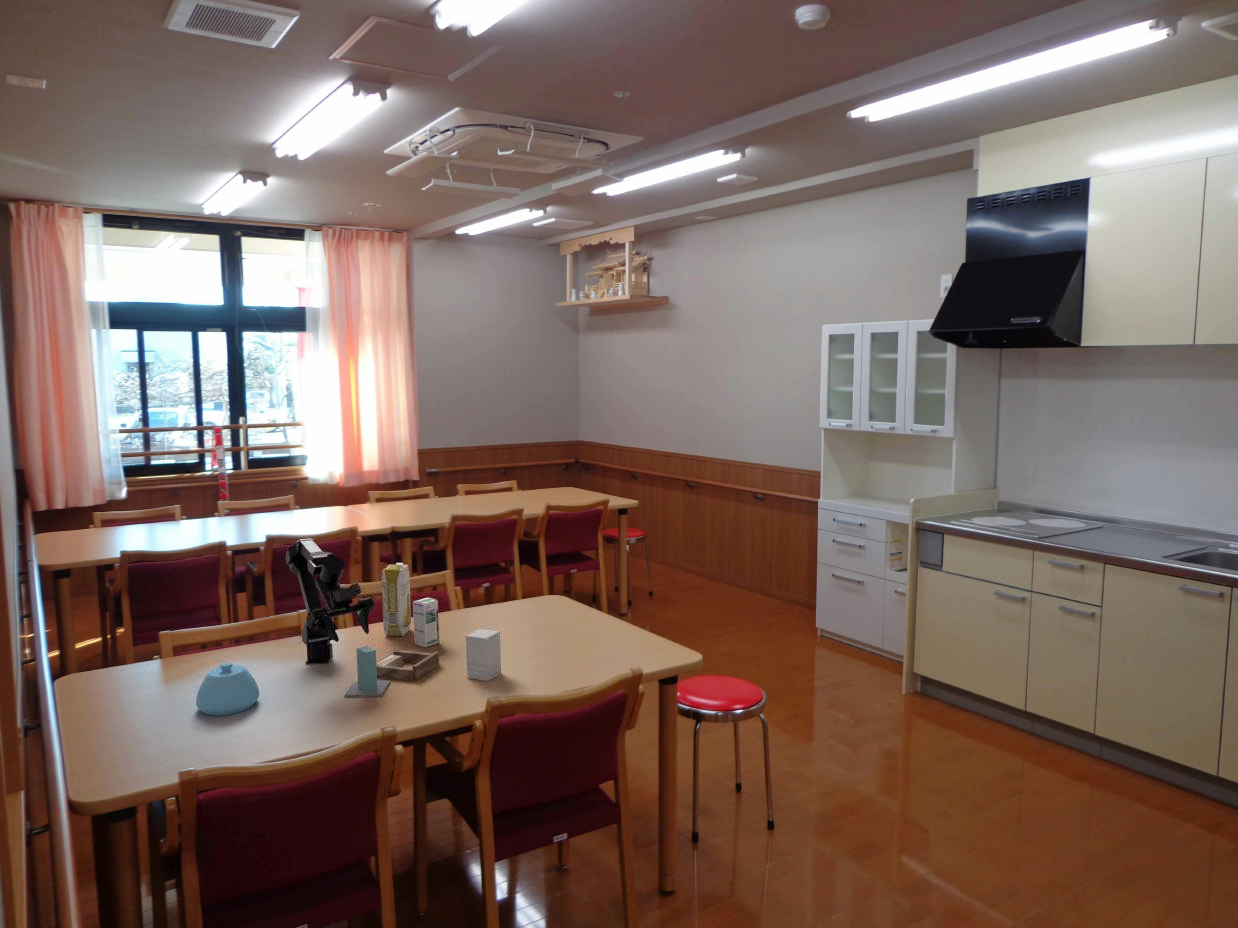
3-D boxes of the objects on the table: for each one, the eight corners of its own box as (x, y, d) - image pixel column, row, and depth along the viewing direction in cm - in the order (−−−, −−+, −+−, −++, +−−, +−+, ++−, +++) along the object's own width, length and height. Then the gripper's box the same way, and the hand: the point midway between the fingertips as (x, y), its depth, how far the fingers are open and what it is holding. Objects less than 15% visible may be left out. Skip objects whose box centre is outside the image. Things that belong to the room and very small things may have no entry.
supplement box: (502, 673, 240) (501, 631, 238) (487, 681, 233) (486, 638, 232) (480, 669, 243) (479, 627, 241) (466, 677, 236) (464, 635, 235)
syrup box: (425, 647, 263) (424, 603, 261) (413, 644, 266) (412, 600, 265) (439, 642, 267) (438, 599, 266) (427, 639, 271) (426, 596, 269)
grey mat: (344, 697, 222) (344, 695, 222) (354, 683, 232) (354, 681, 232) (381, 696, 223) (381, 694, 223) (390, 682, 233) (390, 680, 233)
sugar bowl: (218, 722, 207) (216, 678, 205) (184, 710, 215) (182, 667, 213) (271, 702, 219) (269, 660, 218) (237, 691, 227) (235, 650, 226)
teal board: (358, 686, 228) (356, 648, 227) (367, 683, 230) (366, 645, 229) (367, 691, 225) (365, 652, 223) (377, 688, 227) (375, 649, 226)
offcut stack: (373, 674, 240) (373, 664, 240) (391, 663, 250) (391, 653, 249) (387, 676, 239) (387, 666, 239) (405, 664, 249) (404, 654, 248)
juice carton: (405, 637, 273) (403, 566, 271) (382, 637, 273) (379, 566, 271) (413, 628, 283) (410, 560, 280) (390, 628, 283) (387, 560, 280)
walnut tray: (365, 675, 238) (365, 661, 238) (392, 659, 252) (391, 646, 252) (415, 680, 234) (415, 667, 233) (440, 664, 247) (439, 651, 247)
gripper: (309, 581, 225) (331, 629, 219) (370, 569, 239) (392, 613, 233) (297, 604, 232) (318, 651, 225) (357, 591, 245) (378, 635, 239)
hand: (353, 637), depth 230 cm, fingers open, 9 cm apart
